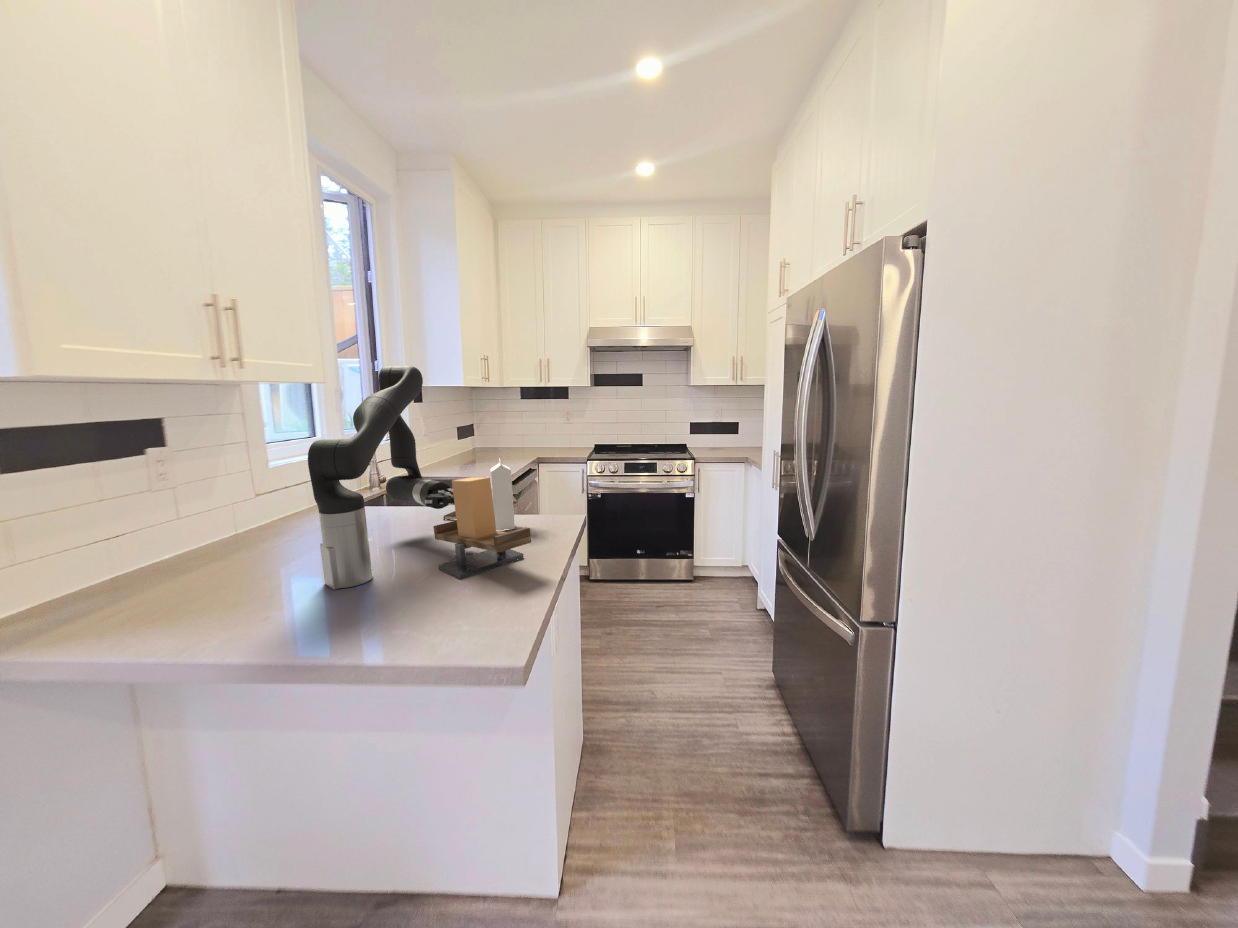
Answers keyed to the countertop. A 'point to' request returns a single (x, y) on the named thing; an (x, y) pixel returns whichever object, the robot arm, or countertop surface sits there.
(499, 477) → the milk
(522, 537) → the beam
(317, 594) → the countertop surface
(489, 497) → the block
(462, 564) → the pivot stand
